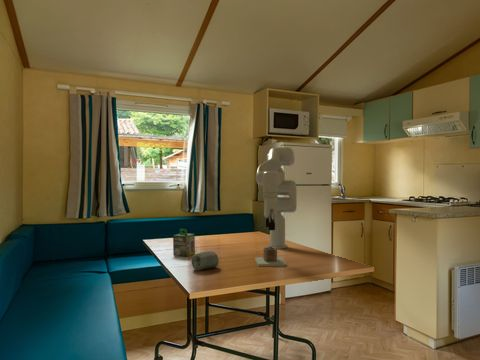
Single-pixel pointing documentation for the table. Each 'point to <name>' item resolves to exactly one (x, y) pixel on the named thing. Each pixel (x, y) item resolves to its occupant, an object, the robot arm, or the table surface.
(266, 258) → the collar
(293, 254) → the table surface
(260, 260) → the post board
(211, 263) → the grey green cylinder
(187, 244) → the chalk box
